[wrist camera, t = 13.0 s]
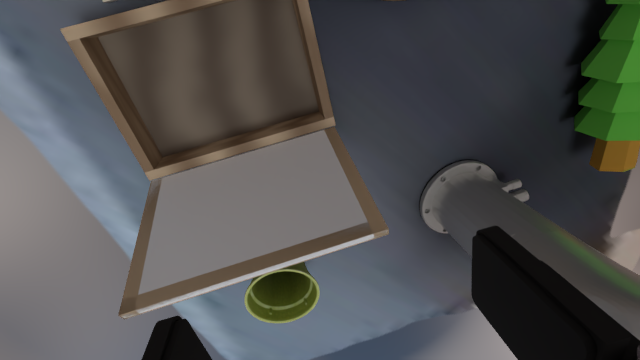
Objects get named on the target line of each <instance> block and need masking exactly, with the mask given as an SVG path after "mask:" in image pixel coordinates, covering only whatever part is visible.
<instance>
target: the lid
mask: <svg viewBox="0 0 640 360" xmlns="http://www.w3.org/2000/svg"><path fill="white" fill-rule="evenodd" d="M388 234H389V229H388V227H387V225H386V223H385V221H384V219H383V217H382V216H381V214H380V212H379V210H378V208H377V206H376V204H375V202H374V200H373V199H372V197H371V195H370V193H369V191H368V189H367V187H366V185H365V183H364V182H363V180H362V178H361V176H360V174H359V172H358V170H357V168H356V167H355V165H354V163H353V161H352V159H351V157H350V155H349V153H348V151H347V150H346V148H345V146H344V144H343V142H342V140H341V138H340V136H339V134H338V133H337V131H336V129H335V127H332V128H328V129H325V130H322V131H318V132H315V133H312V134H308V135H305V136H302V137H298V138H295V139H291V140H288V141H285V142H281V143H278V144H275V145H271V146H268V147H265V148H261V149H258V150H255V151H251V152H248V153H244V154H241V155H238V156H234V157H231V158H228V159H224V160H221V161H218V162H214V163H211V164H207V165H204V166H201V167H197V168H194V169H191V170H187V171H184V172H181V173H177V174H174V175H170V176H167V177H164V178H160V179H157V180H154V181H151V183H150V188H149V192H148V196H147V200H146V204H145V208H144V212H143V216H142V220H141V225H140V229H139V233H138V237H137V241H136V245H135V249H134V253H133V257H132V262H131V266H130V270H129V274H128V278H127V282H126V286H125V291H124V295H123V299H122V303H121V307H120V311H119V316H120V317H121V318H123V319H127V318H130V317H133V316H136V315H140V314H142V313H146V312H148V311H152V310H155V309H158V308H161V307H164V306H167V305H171V304H174V303H177V302H180V301H183V300H186V299H189V298H192V297H195V296H199V295H202V294H205V293H208V292H211V291H214V290H217V289H220V288H223V287H226V286H230V285H233V284H236V283H239V282H242V281H245V280H248V279H251V278H254V277H257V276H261V275H264V274H267V273H270V272H273V271H276V270H279V269H282V268H285V267H289V266H292V265H295V264H298V263H301V262H304V261H307V260H310V259H313V258H316V257H320V256H323V255H326V254H329V253H332V252H335V251H338V250H341V249H344V248H347V247H351V246H354V245H357V244H360V243H363V242H366V241H369V240H372V239H375V238H379V237H382V236H385V235H388Z"/></svg>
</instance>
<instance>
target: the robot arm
mask: <svg viewBox="0 0 640 360" xmlns="http://www.w3.org/2000/svg"><path fill="white" fill-rule="evenodd" d="M521 186H522V183H521V181H520V180H519V179H514V180H511V181H508V182H506V183H504V182H501V181H499V180H498V179H497V176H496V174H495V173H494V171H493V170H492V169H491V168H490V167H488V166H487V165H485V164H483V163H482V162H478V161H474V160H465V161H459V162H456V163H453V164H451V165H449V166H447V167H445V168H444V169H442V170H441V171H439V172H438V173H437V174H436V175H435V176H434V177H433V178H432V179H431V180H430V182H429V183H428V184H427V186H426V188H425V189H424V191H423V194H422V196H421V200H420V213H421V217H422V218H423V220H424V222H425V223H426V224H427V225H428V226H429V227H430V228H431V229H432V230H434V231H436V232H439V233H444V234H450V235H451V236H452V237H453V238H454V239H455V240H456V242H457V243H458V244H459V245H460V246H461V247H462V248H463V249H464V250H465V251H466V252H467V253H468V254H469V255H470V257H471V258H472V298H473V300H474V302H475V304H476V306H477V307H478V308H479V310H480V311H481V312H482V313H483V315H484V316H485V317H486V319H487V320H488V321H489V323H490V324H491V325H492V327H493V328H494V329H495V330H496V332H497V333H498V334H499V336H500V337H501V338H502V339H503V341H504V342H505V343H506V344H507V346H508V347H509V349H510V350H511V351H512V352H513V354H514V355H515V357H516V358H517V359H518V360H640V275H638V274H636V273H634V272H632V271H631V270H629V269H627V268H625V267H623V266H621V265H620V264H618V263H616V262H615V261H613V260H612V259H610V258H608V257H607V256H605V255H603V254H602V253H600V252H599V251H597V250H595V249H594V248H592V247H590V246H589V245H587V244H586V243H584V242H583V241H581V240H580V239H578V238H577V237H575V236H574V235H572V234H570V233H569V232H567V231H566V230H564V229H563V228H561V227H559V226H558V225H556V224H555V223H553V222H552V221H550V220H549V219H547V218H546V217H544V216H543V215H541V214H540V213H538V212H537V211H535V210H534V209H532V208H531V207H529V206H528V205H526V204H525V203H523V202H524V201H527V200H529V194H528V192H527V191H526V190H525V189H520V190H517V191H513V192H510V193H508V191H509V190H514V189H517V188H520V187H521ZM142 360H212V359H211V357H210V355H209V354H208V352H207V351H206V349H205V348H204V346H203V344H202V343H201V341H200V340H199V338H198V337H197V335H196V333H195V332H194V330H193V329H192V327H191V325H190V324H189V322H188V321H187V320H186V319H182V318H181V317H180V316H175V317H171V318H168V319H164V320H161V321H158V322H157V323H156V325H155V327H154V329H153V332H152V334H151V337H150V340H149V342H148V345H147V347H146V350H145V353H144V355H143V358H142Z"/></svg>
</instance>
